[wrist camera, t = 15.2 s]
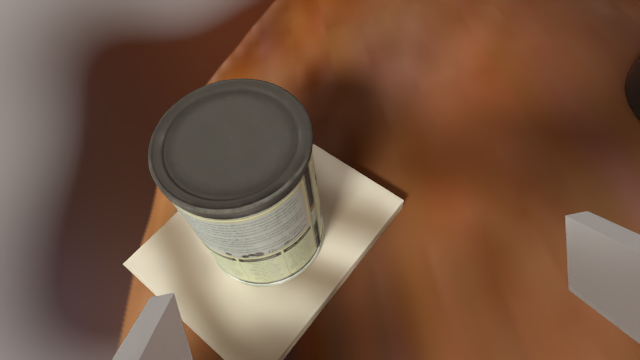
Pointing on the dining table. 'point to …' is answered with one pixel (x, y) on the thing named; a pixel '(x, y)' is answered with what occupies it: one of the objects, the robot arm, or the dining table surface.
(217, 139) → the coffee can
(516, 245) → the dining table surface
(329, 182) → the birch board
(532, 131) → the dining table surface
